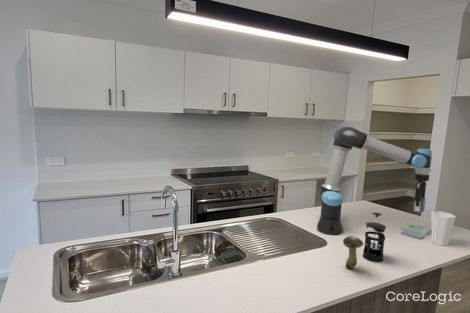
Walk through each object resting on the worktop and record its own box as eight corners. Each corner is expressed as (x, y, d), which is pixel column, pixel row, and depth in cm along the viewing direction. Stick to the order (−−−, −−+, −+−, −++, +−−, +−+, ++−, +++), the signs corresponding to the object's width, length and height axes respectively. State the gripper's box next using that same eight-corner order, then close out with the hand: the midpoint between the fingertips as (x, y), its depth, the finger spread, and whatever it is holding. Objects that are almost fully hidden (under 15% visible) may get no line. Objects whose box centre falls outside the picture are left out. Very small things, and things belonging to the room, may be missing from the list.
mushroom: (358, 275, 127) (361, 243, 125) (338, 269, 132) (340, 238, 130) (362, 266, 135) (365, 236, 133) (342, 261, 140) (345, 231, 138)
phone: (400, 234, 177) (400, 232, 177) (404, 232, 181) (404, 230, 181) (420, 240, 169) (420, 238, 169) (424, 238, 172) (424, 236, 172)
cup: (452, 243, 164) (456, 214, 162) (450, 249, 157) (454, 218, 155) (429, 237, 172) (432, 209, 170) (426, 242, 165) (429, 213, 162)
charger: (412, 210, 183) (414, 197, 182) (415, 208, 186) (416, 196, 185) (421, 212, 179) (423, 199, 178) (424, 210, 183) (425, 197, 182)
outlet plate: (400, 229, 185) (400, 226, 184) (407, 224, 194) (407, 221, 194) (425, 236, 174) (425, 233, 174) (431, 230, 184) (432, 227, 184)
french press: (374, 264, 138) (379, 217, 135) (357, 256, 146) (361, 212, 143) (389, 259, 144) (394, 214, 141) (372, 251, 152) (376, 208, 149)
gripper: (425, 176, 171) (421, 214, 174) (433, 173, 183) (429, 208, 186) (410, 174, 176) (407, 211, 179) (419, 171, 189) (416, 206, 191)
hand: (418, 210), depth 183 cm, fingers closed on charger, 5 cm apart
